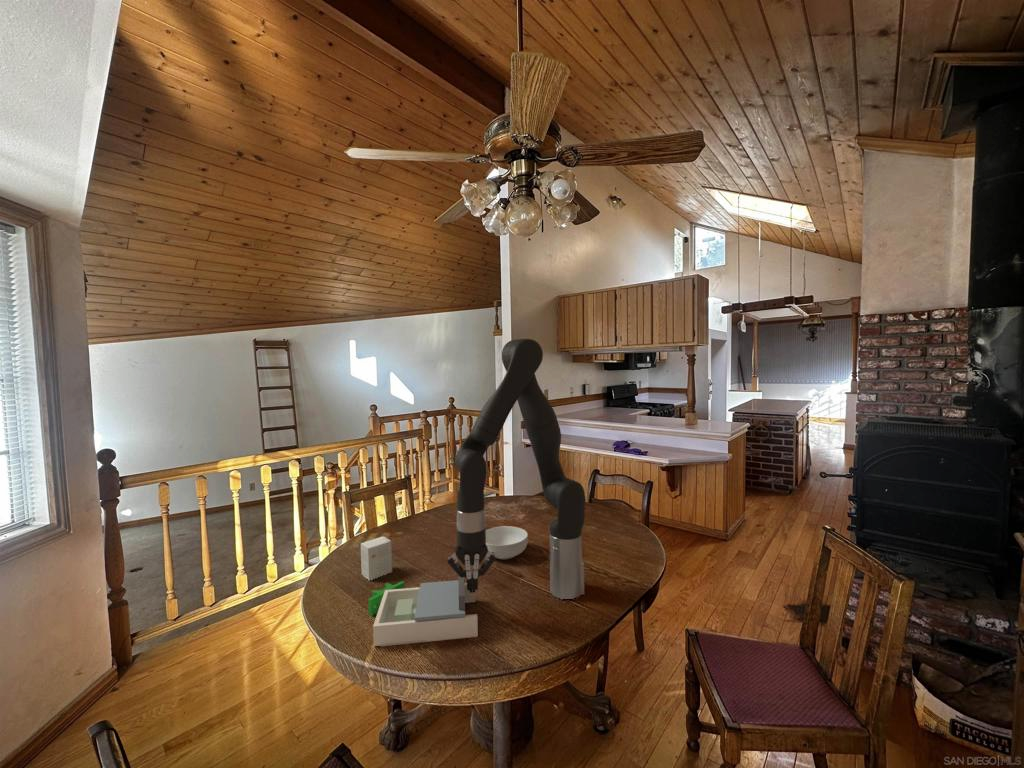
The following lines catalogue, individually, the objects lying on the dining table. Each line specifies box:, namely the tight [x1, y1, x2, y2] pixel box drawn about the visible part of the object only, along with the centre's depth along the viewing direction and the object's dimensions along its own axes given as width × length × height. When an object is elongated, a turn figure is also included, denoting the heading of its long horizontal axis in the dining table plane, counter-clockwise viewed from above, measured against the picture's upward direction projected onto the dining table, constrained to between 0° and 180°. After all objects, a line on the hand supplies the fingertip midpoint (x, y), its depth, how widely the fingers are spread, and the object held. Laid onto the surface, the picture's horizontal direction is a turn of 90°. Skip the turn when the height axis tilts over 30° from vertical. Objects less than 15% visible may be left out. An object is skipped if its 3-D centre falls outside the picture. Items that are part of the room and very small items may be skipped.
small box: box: [360, 535, 393, 582], centre depth 131 cm, size 8×6×10 cm
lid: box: [415, 574, 466, 621], centre depth 106 cm, size 12×16×4 cm
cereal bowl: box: [486, 525, 529, 560], centre depth 144 cm, size 17×17×7 cm
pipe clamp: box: [367, 580, 405, 617], centre depth 114 cm, size 11×4×5 cm, turn 144°
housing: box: [372, 582, 479, 647], centre depth 106 cm, size 24×16×5 cm, turn 98°
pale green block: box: [394, 598, 414, 622], centre depth 105 cm, size 4×7×4 cm, turn 8°
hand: (472, 590), depth 107 cm, fingers closed
